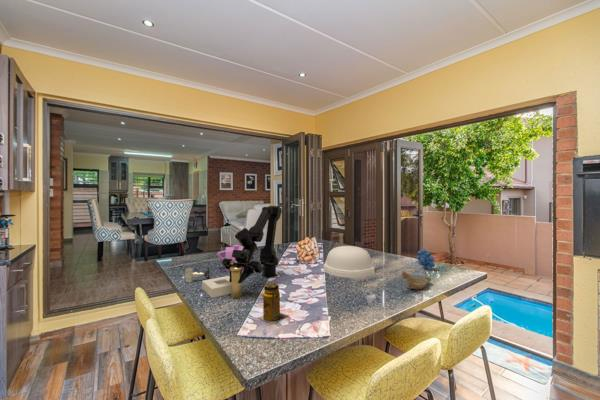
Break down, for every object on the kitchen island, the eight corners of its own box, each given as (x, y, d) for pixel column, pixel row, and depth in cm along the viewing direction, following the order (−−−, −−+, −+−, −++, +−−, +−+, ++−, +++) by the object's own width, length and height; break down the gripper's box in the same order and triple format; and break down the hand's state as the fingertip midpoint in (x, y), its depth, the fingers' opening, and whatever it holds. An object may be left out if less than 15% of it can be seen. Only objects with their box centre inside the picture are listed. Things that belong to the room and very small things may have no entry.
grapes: (412, 268, 168) (412, 248, 167) (419, 266, 171) (419, 247, 171) (430, 272, 158) (430, 252, 157) (436, 270, 161) (437, 250, 161)
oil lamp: (395, 289, 130) (396, 268, 130) (422, 281, 142) (422, 262, 142) (412, 294, 123) (412, 272, 123) (438, 286, 135) (438, 266, 135)
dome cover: (312, 271, 160) (312, 248, 160) (336, 261, 184) (336, 241, 184) (364, 281, 142) (365, 255, 141) (383, 269, 166) (383, 246, 166)
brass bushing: (239, 293, 124) (239, 264, 124) (244, 296, 120) (244, 267, 120) (228, 295, 121) (228, 266, 121) (233, 299, 117) (233, 269, 117)
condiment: (258, 318, 99) (258, 285, 99) (274, 310, 106) (274, 280, 105) (272, 324, 94) (272, 290, 94) (288, 316, 101) (288, 284, 101)
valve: (184, 283, 138) (209, 281, 141) (184, 270, 138) (209, 269, 141) (185, 279, 144) (209, 278, 147) (185, 267, 144) (209, 265, 147)
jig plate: (230, 283, 138) (230, 275, 138) (241, 291, 127) (241, 282, 127) (201, 289, 130) (201, 280, 130) (211, 297, 119) (211, 288, 118)
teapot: (260, 269, 165) (260, 246, 164) (216, 272, 158) (216, 248, 158) (257, 263, 179) (257, 242, 179) (217, 265, 173) (217, 243, 172)
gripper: (223, 241, 127) (208, 270, 117) (259, 243, 121) (246, 275, 111) (233, 254, 135) (219, 283, 124) (267, 257, 128) (256, 288, 118)
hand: (234, 282), depth 119 cm, fingers closed on brass bushing, 4 cm apart
